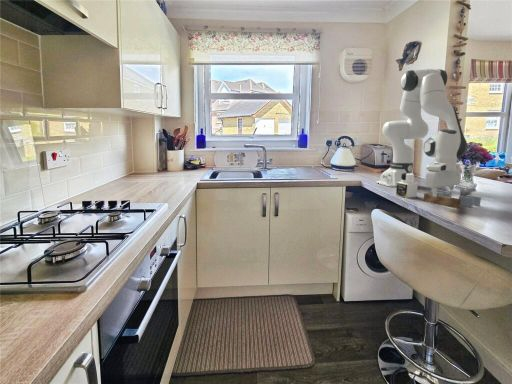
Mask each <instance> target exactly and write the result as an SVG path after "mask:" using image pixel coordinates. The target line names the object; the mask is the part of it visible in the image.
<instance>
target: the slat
mask: <svg viewBox="0 0 512 384" xmlns="http://www.w3.org/2000/svg"><path fill="white" fill-rule="evenodd" d="M423 202H426V203H429V202H430V203H431V204H434V205H435V204H436V205H438V206H439V205H440V206H444V207H448V208H452V209H458V208H459V209H460V207H461V205H460V202H461V199H459V198H457V197H452V196H451V197H446V196H441V195H438V197H433V194H431V193H429V192H427V193H424V194H423Z"/></svg>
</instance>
